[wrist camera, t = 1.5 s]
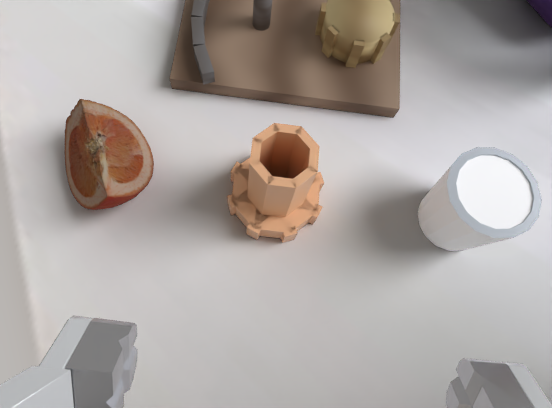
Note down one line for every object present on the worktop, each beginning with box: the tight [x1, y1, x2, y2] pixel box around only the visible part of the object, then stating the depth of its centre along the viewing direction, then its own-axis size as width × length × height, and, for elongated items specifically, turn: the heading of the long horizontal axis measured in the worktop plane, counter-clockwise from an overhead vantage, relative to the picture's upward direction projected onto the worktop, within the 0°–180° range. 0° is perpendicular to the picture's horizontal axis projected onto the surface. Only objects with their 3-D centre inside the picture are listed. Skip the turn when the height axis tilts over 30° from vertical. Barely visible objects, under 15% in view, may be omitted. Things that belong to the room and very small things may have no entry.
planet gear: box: [227, 123, 324, 243], centre depth 33 cm, size 8×8×8 cm
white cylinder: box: [418, 147, 542, 251], centre depth 34 cm, size 7×7×7 cm
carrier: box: [170, 0, 400, 117], centre depth 39 cm, size 20×14×7 cm
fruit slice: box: [65, 99, 154, 210], centre depth 34 cm, size 8×7×5 cm
